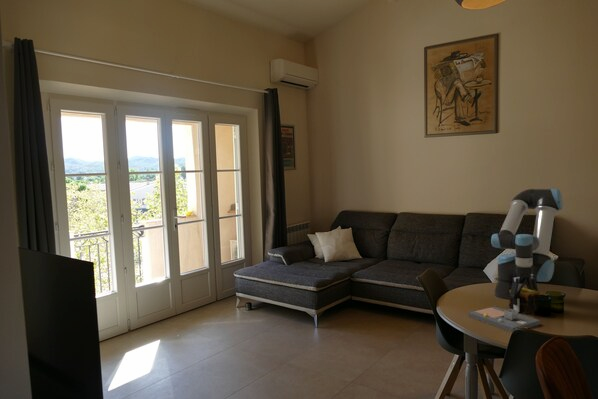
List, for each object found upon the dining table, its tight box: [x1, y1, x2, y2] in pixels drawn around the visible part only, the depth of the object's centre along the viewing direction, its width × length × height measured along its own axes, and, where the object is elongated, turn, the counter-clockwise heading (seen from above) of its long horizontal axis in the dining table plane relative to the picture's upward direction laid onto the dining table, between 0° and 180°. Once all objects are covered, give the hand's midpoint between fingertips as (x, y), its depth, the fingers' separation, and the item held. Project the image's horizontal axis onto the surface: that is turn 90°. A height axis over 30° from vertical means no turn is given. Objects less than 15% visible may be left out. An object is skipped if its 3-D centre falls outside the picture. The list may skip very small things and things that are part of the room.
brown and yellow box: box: [508, 287, 540, 315], centre depth 211 cm, size 10×10×10 cm
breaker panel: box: [468, 306, 541, 333], centre depth 198 cm, size 24×18×3 cm
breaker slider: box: [504, 308, 519, 320], centre depth 194 cm, size 4×4×4 cm
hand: (524, 309), depth 212 cm, fingers open, 11 cm apart
